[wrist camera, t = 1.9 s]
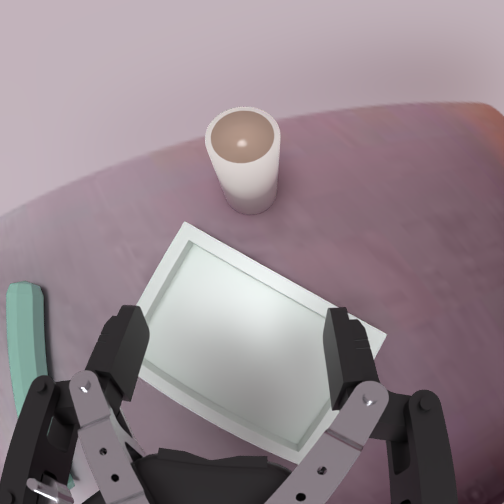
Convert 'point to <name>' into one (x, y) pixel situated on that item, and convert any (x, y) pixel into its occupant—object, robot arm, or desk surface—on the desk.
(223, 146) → the cup
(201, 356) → the tray
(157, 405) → the desk surface
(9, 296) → the green faceted rod
